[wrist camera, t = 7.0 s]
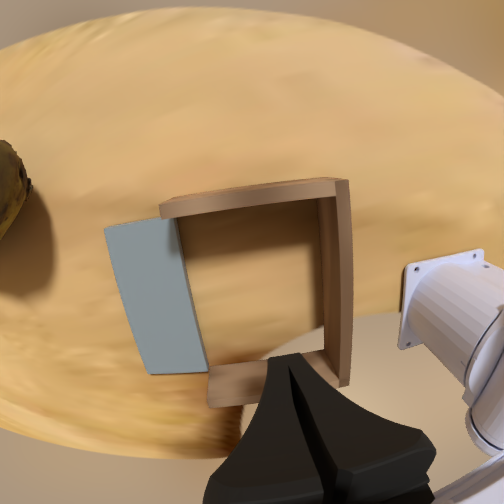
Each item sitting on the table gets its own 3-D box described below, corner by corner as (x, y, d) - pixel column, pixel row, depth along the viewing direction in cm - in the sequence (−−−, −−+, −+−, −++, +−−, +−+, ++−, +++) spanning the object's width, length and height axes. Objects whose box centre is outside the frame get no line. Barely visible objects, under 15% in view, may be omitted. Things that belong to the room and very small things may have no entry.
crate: (325, 177, 19) (348, 179, 15) (333, 354, 23) (349, 385, 19) (173, 197, 18) (158, 204, 15) (211, 373, 22) (209, 408, 18)
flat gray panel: (172, 216, 18) (103, 229, 18) (207, 371, 21) (147, 374, 21) (175, 214, 18) (108, 226, 19) (208, 365, 22) (150, 368, 22)
